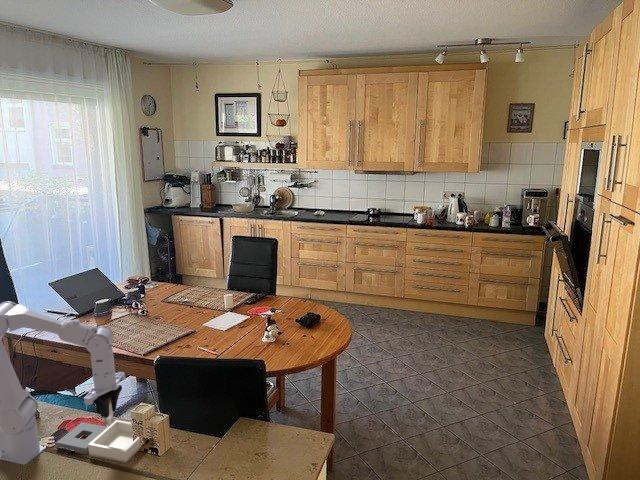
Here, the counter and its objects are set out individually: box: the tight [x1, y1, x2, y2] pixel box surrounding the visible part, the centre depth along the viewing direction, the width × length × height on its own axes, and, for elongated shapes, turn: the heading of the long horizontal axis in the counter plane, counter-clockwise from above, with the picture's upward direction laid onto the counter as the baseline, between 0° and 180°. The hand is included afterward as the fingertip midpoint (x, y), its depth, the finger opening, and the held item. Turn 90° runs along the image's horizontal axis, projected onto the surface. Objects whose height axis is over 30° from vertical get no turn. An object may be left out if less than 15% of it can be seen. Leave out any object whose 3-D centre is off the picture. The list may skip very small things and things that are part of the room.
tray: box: [88, 419, 141, 464], centre depth 135 cm, size 12×12×4 cm
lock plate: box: [55, 421, 109, 456], centre depth 137 cm, size 10×10×2 cm
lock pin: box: [103, 398, 115, 426], centre depth 134 cm, size 2×2×8 cm
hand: (108, 413), depth 134 cm, fingers closed on lock pin, 2 cm apart
